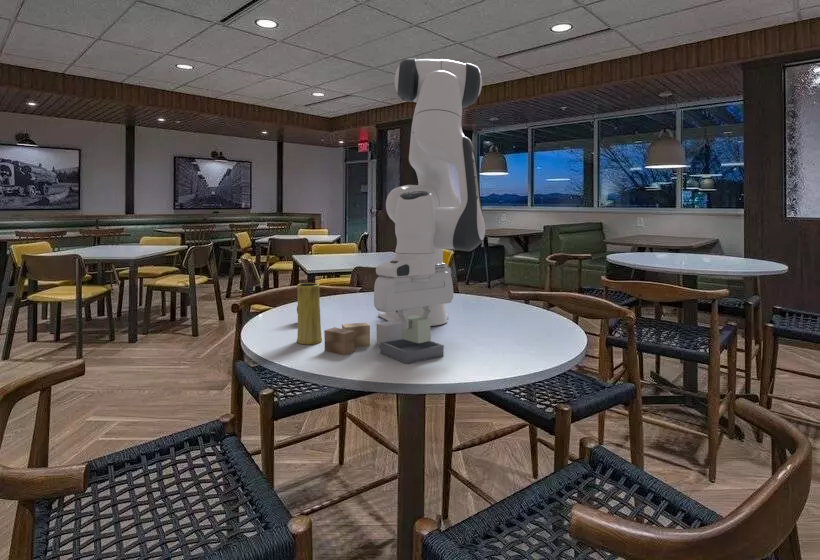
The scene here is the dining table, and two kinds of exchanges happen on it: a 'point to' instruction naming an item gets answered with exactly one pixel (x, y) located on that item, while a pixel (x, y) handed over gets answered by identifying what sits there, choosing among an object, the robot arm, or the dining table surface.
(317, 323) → the vase
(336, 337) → the block walnut
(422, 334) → the block sage
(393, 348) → the slate dish
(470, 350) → the dining table surface
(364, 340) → the block oak
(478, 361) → the dining table surface
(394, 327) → the block grey
